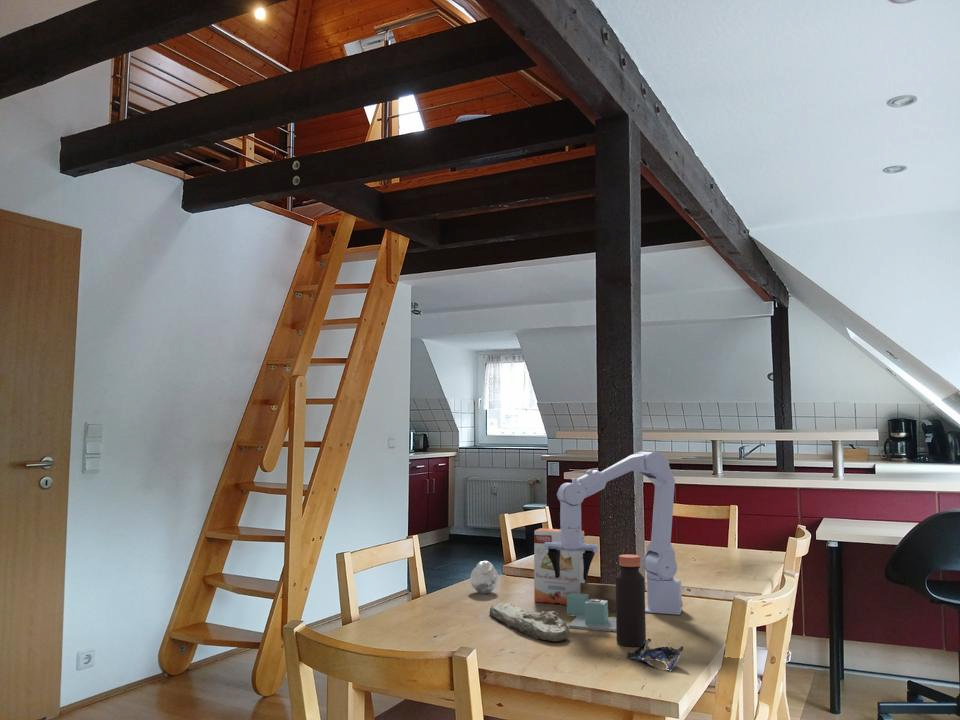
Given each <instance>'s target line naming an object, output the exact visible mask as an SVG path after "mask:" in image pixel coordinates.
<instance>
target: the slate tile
mask: <svg viewBox="0 0 960 720" xmlns="http://www.w3.org/2000/svg"><path fill="white" fill-rule="evenodd" d="M568 627H569V629H576V628H577V630H578V629H579V630H588V631H599V630H602V631H603V632H611V631H613V632H612V633H616V617H611V616H610V617H609V616H608V621H607V622H606V624H605V625H600V624H588V623H585V615H578V616H576V617H575V618H574V619H573V620H572V621H571V622H570V624H568ZM602 631H601V632H602Z"/></svg>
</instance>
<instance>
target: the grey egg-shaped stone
mask: <svg viewBox="0 0 960 720" xmlns="http://www.w3.org/2000/svg"><path fill="white" fill-rule="evenodd" d="M469 578H470V579H469V580H470V584H471V587H472V588H473V589H474V590H475V591H476V592H478V593H480V594H489V593H492V592H493V591H494V590H496V588H497V587H498V585H499V580H500V578H499V573H498V571H497V569H496V568H495V566H494V565H493V563H492V562H490V561H488V560H483V561H482V560H481V561H479V562H478V563H477V564H476V567H474V568H473V569H472V571H471V573H470V577H469Z"/></svg>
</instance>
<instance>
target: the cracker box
mask: <svg viewBox="0 0 960 720" xmlns="http://www.w3.org/2000/svg"><path fill="white" fill-rule="evenodd" d="M581 534H582V543H585V531H584V530H581ZM533 537H534V538H533V539H534V540H533V541H534V542H533V543H534V545H533V547H534V549H533V550H534V551H533V553H534V560H533V562H534V563H533V564H534V565H533V567H534V569H533V573H534V577H533V580H534V581H533V582H534V583H533V586H534V588H533V589H534V591H533V592H534V595H533V598H534V603H536V602H537V603H543V602H550V603H549V604H554V603H560V604H559V605H564V604H566V605H565V606H567V596H568V595H569V594H570V593H578V594H580V583H586V580H584V579H583V571H584V565H583V553H585V552H582V551H562V550H560V577H559V578H556V576H555V571H554V568H553V565H552V562H551V560H550V558H549V556H548V551H549V550H545V543H546V542H561V531H560V528H559V529H558V528H541V527H540V528H537V529H535V530H534V536H533ZM565 549H577V548H565Z"/></svg>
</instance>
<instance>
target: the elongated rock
mask: <svg viewBox="0 0 960 720" xmlns="http://www.w3.org/2000/svg"><path fill="white" fill-rule="evenodd" d="M489 615H491V616H492V617H494V618H495V619H497V620H498V621H499V622H500V623H504V624H505V625H506V626H508V625H509V626H508V627H509V628H511V627H513V628H512V629H516V630H518V631H519V632H521V633H522V632H523V633H522V634H524V633H525V635H527V634H528V635H529V636H530V637H532V636H533V637H532V638H534V639H535V638H537V639H536V640H543V641H549V642H550V641H551V642H562V641H565V640H567V639H568V638H569V629H570V628H569V625H567V622H565V620H564V619H562V618H560V616H559V615H560V614H559V613H558V612H557V611H555V610H552V611H543V610H542V611H541V612H537V611H535V612H533V611H530V610H528V609H525V608H523V607H520V606H518V605H515V604H513V603H509V602H499V603H495V604H492V605H491V606H490V608H489ZM528 635H527V636H528Z"/></svg>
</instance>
